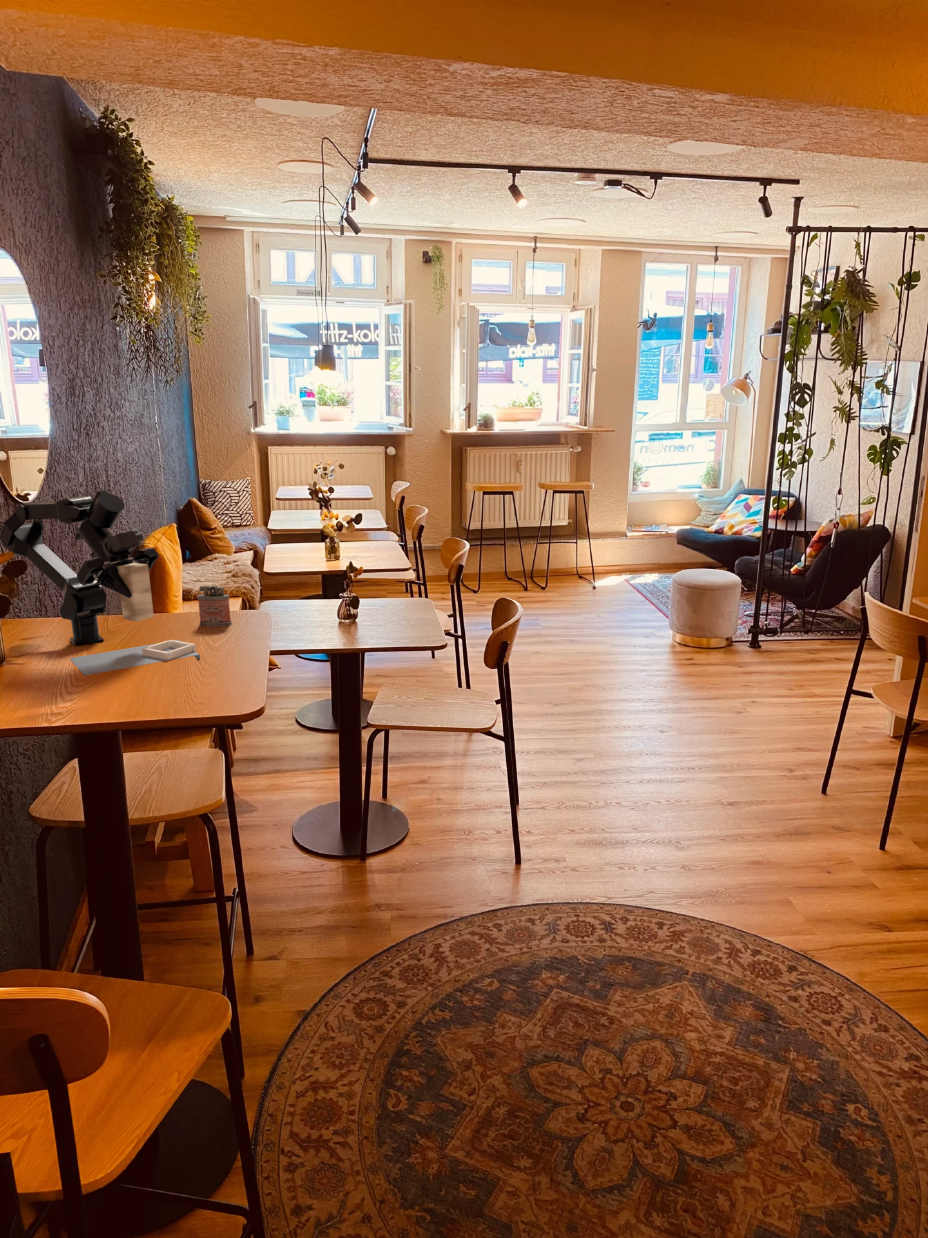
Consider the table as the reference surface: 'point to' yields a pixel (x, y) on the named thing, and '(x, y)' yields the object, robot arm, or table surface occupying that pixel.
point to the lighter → (214, 606)
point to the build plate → (120, 659)
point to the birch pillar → (136, 592)
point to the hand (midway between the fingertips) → (139, 594)
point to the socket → (181, 650)
